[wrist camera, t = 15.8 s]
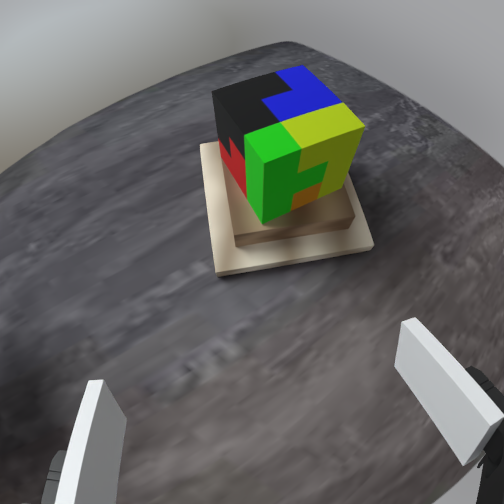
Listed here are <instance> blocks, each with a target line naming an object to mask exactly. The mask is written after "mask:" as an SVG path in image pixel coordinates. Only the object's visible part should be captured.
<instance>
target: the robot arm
mask: <svg viewBox="0 0 504 504" xmlns="http://www.w3.org/2000/svg"><path fill="white" fill-rule="evenodd" d="M394 367H395V368H396V369H397V371H398V372H399V373H400V375H401V376H402V378H403V379H404V380H405V382H406V383H407V385H408V386H409V387H410V389H411V390H412V392H413V393H414V394H415V396H416V397H417V399H418V400H419V402H420V403H421V404H422V406H423V407H424V409H425V410H426V412H427V413H428V415H429V416H430V417H431V419H432V420H433V422H434V423H435V425H436V426H437V428H438V429H439V431H440V432H441V434H442V435H443V436H444V438H445V439H446V441H447V442H448V444H449V445H450V447H451V448H452V450H453V451H454V453H455V455H456V456H457V458H458V459H459V461H460V462H461V464H462V465H463V466H464V465H466V464H468V463H469V462H471V461H472V460H474V459H475V458H477V457H478V456H479V454H480V453H481V452H482V450H484V451H485V453H486V454H485V456H484V457H483V458H482V460H481V461H480V462H479V464H478V466H477V468H480V466H481V465H482V464H483V469H482V476H481V481H480V487H479V492H478V497H477V502H476V504H504V396H503V394H502V393H501V392H500V391H499V390H498V389H497V388H496V387H494V384H493V383H492V382H491V381H489V379H488V378H487V377H486V376H485V375H484V374H483V373H482V371H480V370H478V369H476V368H474V367H472V366H470V367H468V368H466V369H464V368H463V367H462V366H461V365H460V364H459V363H458V362H457V360H456V359H455V358H454V357H453V356H452V355H451V354H450V353H449V352H448V351H447V350H446V349H445V348H444V346H443V345H442V344H441V343H440V342H439V341H438V340H437V339H436V338H435V337H434V336H433V335H432V334H431V333H430V332H429V331H428V330H427V329H426V328H425V327H424V326H423V325H422V324H421V323H420V321H419V320H418V319H417V318H416V317H415V318H412V319H408V320H405V321H402V323H401V330H400V336H399V342H398V348H397V354H396V360H395V365H394ZM126 423H127V419H126V417H125V415H124V414H123V412H122V410H121V409H120V407H119V405H118V404H117V402H116V400H115V399H114V397H113V395H112V394H111V392H110V390H109V388H108V386H107V385H106V383H105V381H104V380H89V381H88V384H87V387H86V390H85V393H84V396H83V399H82V402H81V406H80V409H79V412H78V415H77V419H76V422H75V425H74V429H73V432H72V435H71V439H70V443H69V446H68V450H67V451H62V450H59V451H58V452H57V453H56V455H55V456H54V458H53V459H52V462H51V465H50V469H49V471H50V472H49V473H48V476H47V481H46V484H45V488H44V492H43V497H42V501H41V504H116V496H117V486H118V478H119V470H120V462H121V455H122V448H123V441H124V435H125V429H126ZM22 504H30V503H22Z"/></svg>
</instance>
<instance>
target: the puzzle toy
mask: <svg viewBox="0 0 504 504" xmlns="http://www.w3.org/2000/svg"><path fill="white" fill-rule="evenodd" d="M212 97H213V104H214V111H215V119H216V126H217V133H218V140H219V147H220V154H221V158H222V159H223V161H224V163H225V164H226V166H227V168H228V169H229V171H230V172H231V174H232V176H233V177H234V179H235V181H236V182H237V184H238V186H239V187H240V189H241V190H242V192H243V194H244V195H245V197H246V199H247V200H248V202H249V204H250V205H251V207H252V209H253V210H254V212H255V214H256V215H257V217H258V219H259V220H260V222H261V224H264V223H266V222H268V221H271V220H273V219H275V218H277V217H279V216H281V215H284V214H286V213H288V212H290V211H292V210H294V209H297V208H299V207H301V206H303V205H305V204H308V203H310V202H312V201H314V200H316V199H319V198H321V197H323V196H325V195H327V194H330V193H332V192H334V191H336V190H338V189H341V188H342V186H343V183H344V181H345V178H346V176H347V173H348V170H349V168H350V165H351V163H352V160H353V158H354V155H355V152H356V150H357V147H358V144H359V142H360V139H361V136H362V134H363V131H364V128H365V125H364V124H363V123H362V122H361V121H360V120H359V119H358V118H357V117H356V116H355V115H354V114H353V113H352V111H351V110H350V109H349V108H348V107H347V106H346V105H345V104H344V103H343V102H342V101H341V100H340V99H339V98H338V97H337V96H336V95H335V94H334V93H333V92H332V91H330V90H329V89H328V88H327V87H326V86H325V85H324V84H323V83H322V82H321V81H320V80H319V79H318V78H317V77H316V76H315V75H313V74H312V73H311V72H310V71H309V70H308V69H307V68H306V67H305V66H303V65H301V66H297V67H292V68H288V69H284V70H280V71H277V72H273V73H269V74H266V75H262V76H258V77H255V78H252V79H248V80H245V81H242V82H238V83H235V84H232V85H229V86H226V87H223V88H220V89H217V90H214V91H212Z"/></svg>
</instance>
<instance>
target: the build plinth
mask: <svg viewBox="0 0 504 504" xmlns="http://www.w3.org/2000/svg"><path fill="white" fill-rule="evenodd" d="M200 151H201V160H202V169H203V178H204V186H205V195H206V203H207V211H208V219H209V227H210V234H211V242H212V249H213V256H214V264H215V271H216V275H217V277H220V276H226V275H232V274H238V273H244V272H250V271H256V270H262V269H268V268H273V267H279V266H285V265H291V264H297V263H302V262H308V261H314V260H319V259H325V258H330V257H336V256H341V255H347V254H352V253H358V252H363V251H369V250H371V249H372V247H373V246H374V242H373V239H372V236H371V233H370V231H369V228H368V225H367V222H366V219H365V216H364V213H363V210H362V208H361V205H360V202H359V199H358V197H357V194H356V191H355V189H354V186H353V184H352V181H351V178H350V176H349V173H347V176H346V178H345V181H344V183H343V186H342V188H341V189H338V190H336V191H334V192H332V193H330V194H327V195H325V196H323V197H321V198H319V199H316V200H314V201H312V202H310V203H308V204H305V205H303V206H301V207H299V208H297V209H294V210H292V211H290V212H288V213H286V214H284V215H281V216H279V217H277V218H275V219H273V220H271V221H268V222H266V223H264V224H261V222H260V220H259V219H258V217H257V215H256V214H255V212H254V210H253V209H252V207H251V205H250V204H249V202H248V200H247V199H246V197H245V195H244V194H243V192H242V190H241V189H240V187H239V186H238V184H237V182H236V181H235V179H234V177H233V176H232V174H231V172H230V171H229V169H228V168H227V166H226V164H225V163H224V161H223V159H222V158H221V154H220V147H219V140H218V141H217V142H211V143H205V144H200Z"/></svg>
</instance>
